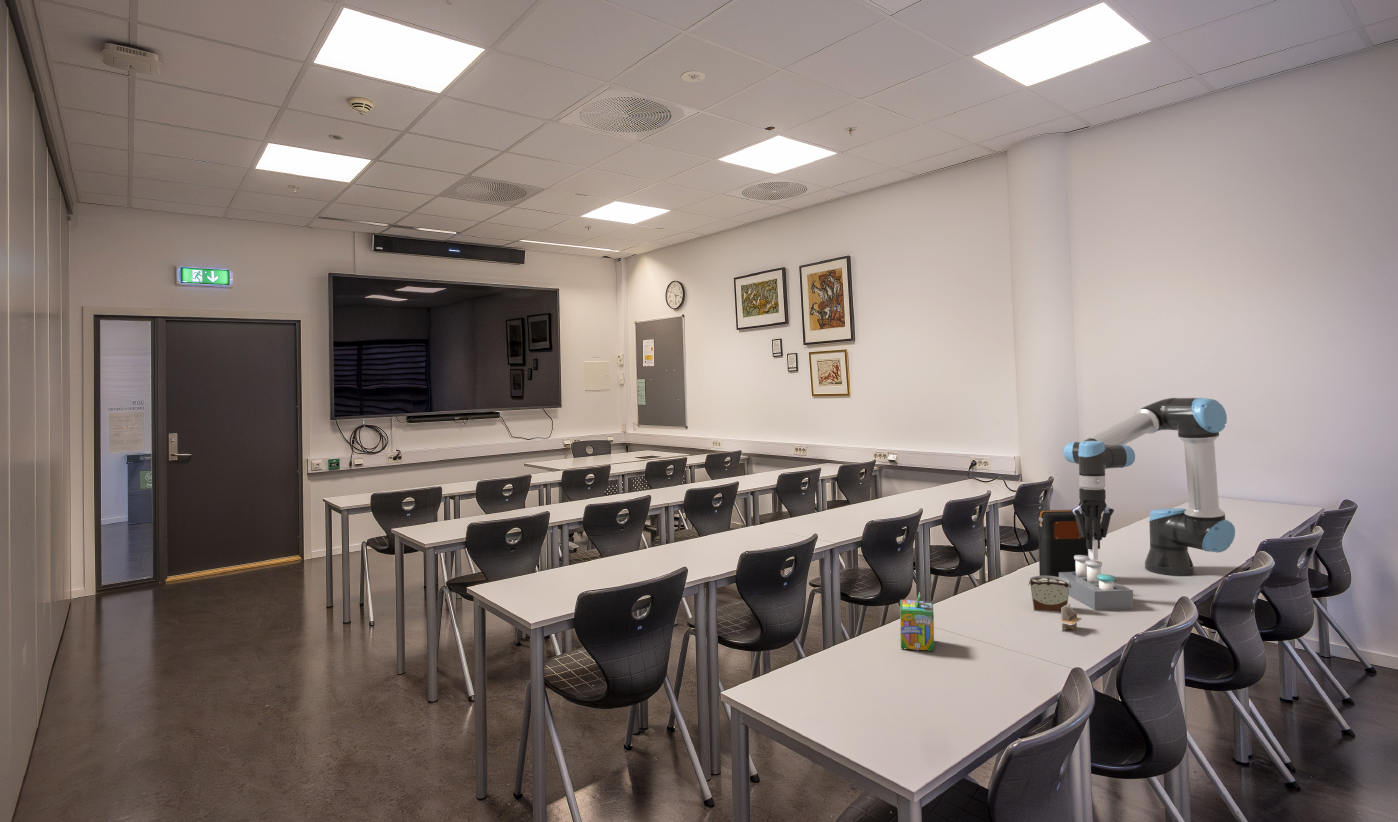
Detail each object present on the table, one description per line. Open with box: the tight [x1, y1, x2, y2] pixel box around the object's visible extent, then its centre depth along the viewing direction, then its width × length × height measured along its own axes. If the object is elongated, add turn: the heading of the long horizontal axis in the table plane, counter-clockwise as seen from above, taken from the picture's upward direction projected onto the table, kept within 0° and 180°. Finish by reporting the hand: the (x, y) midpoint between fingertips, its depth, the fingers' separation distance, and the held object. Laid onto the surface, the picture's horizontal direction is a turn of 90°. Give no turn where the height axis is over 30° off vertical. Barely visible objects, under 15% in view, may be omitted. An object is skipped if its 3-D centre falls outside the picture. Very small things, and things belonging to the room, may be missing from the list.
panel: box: [1059, 572, 1134, 611], centre depth 227 cm, size 12×22×6 cm, turn 179°
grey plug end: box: [1074, 555, 1091, 577], centre depth 234 cm, size 5×5×8 cm
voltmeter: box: [1037, 509, 1089, 577], centre depth 250 cm, size 16×9×25 cm, turn 84°
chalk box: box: [899, 591, 935, 652], centre depth 194 cm, size 9×9×15 cm
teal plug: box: [1097, 573, 1116, 590], centre depth 220 cm, size 5×5×8 cm
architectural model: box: [1060, 602, 1083, 632], centre depth 200 cm, size 3×7×7 cm, turn 129°
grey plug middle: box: [1085, 559, 1103, 583], centre depth 227 cm, size 5×5×8 cm
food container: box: [1027, 575, 1072, 614], centre depth 219 cm, size 12×6×10 cm, turn 71°
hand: (1093, 558), depth 227 cm, fingers closed
